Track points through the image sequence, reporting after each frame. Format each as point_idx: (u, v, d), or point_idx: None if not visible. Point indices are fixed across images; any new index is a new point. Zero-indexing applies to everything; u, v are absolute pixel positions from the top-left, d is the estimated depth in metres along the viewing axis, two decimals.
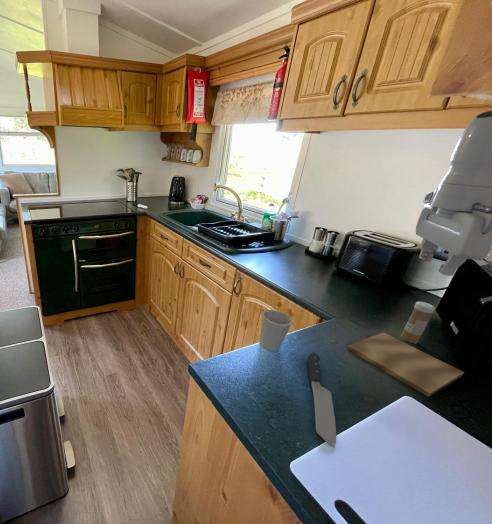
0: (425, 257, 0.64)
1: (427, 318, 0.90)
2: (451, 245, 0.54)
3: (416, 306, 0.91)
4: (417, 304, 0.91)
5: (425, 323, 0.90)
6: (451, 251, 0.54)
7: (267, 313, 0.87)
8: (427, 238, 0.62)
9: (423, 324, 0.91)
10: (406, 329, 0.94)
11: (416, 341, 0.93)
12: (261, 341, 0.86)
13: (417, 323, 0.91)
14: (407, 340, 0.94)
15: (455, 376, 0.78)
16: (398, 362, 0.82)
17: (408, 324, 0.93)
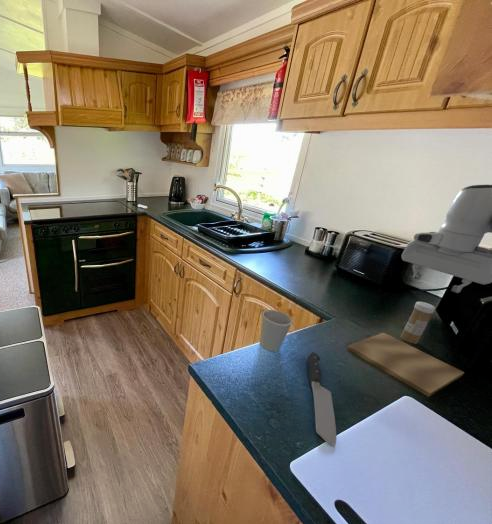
0: (419, 277, 0.91)
1: (427, 318, 0.90)
2: (470, 275, 0.80)
3: (416, 306, 0.91)
4: (417, 304, 0.91)
5: (425, 323, 0.90)
6: (472, 280, 0.79)
7: (267, 313, 0.87)
8: (427, 266, 0.88)
9: (423, 324, 0.91)
10: (406, 329, 0.94)
11: (416, 341, 0.93)
12: (261, 341, 0.86)
13: (417, 323, 0.91)
14: (407, 340, 0.94)
15: (455, 376, 0.78)
16: (398, 362, 0.82)
17: (408, 324, 0.93)
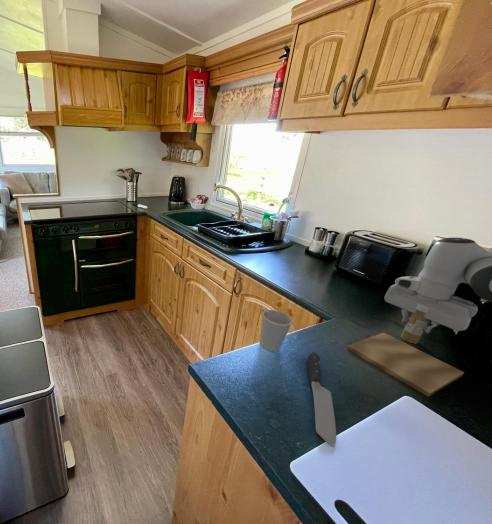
0: None
1: None
2: (446, 322, 0.85)
3: (416, 306, 0.91)
4: None
5: (425, 323, 0.90)
6: (448, 326, 0.85)
7: (267, 313, 0.87)
8: (407, 309, 0.93)
9: (423, 324, 0.90)
10: (406, 329, 0.94)
11: (416, 341, 0.93)
12: (261, 341, 0.86)
13: (418, 323, 0.91)
14: (407, 340, 0.94)
15: (455, 376, 0.78)
16: (398, 362, 0.82)
17: (408, 324, 0.93)
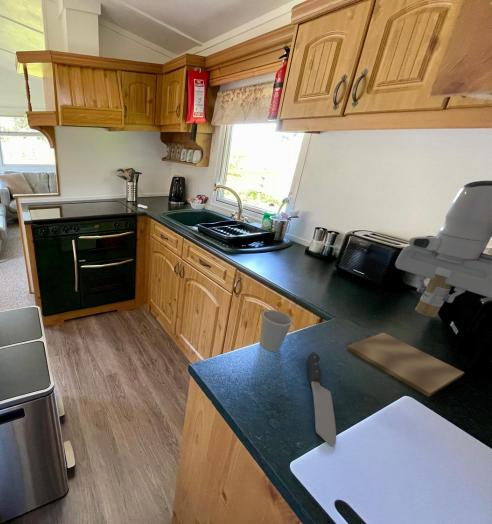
0: (424, 290, 0.78)
1: None
2: (474, 287, 0.69)
3: (436, 270, 0.74)
4: (437, 268, 0.74)
5: (447, 291, 0.74)
6: (477, 292, 0.68)
7: (267, 313, 0.87)
8: (424, 275, 0.77)
9: (444, 292, 0.74)
10: (423, 299, 0.77)
11: (435, 314, 0.76)
12: (261, 341, 0.86)
13: (437, 291, 0.74)
14: (424, 313, 0.77)
15: (455, 376, 0.78)
16: (398, 362, 0.82)
17: (425, 293, 0.77)
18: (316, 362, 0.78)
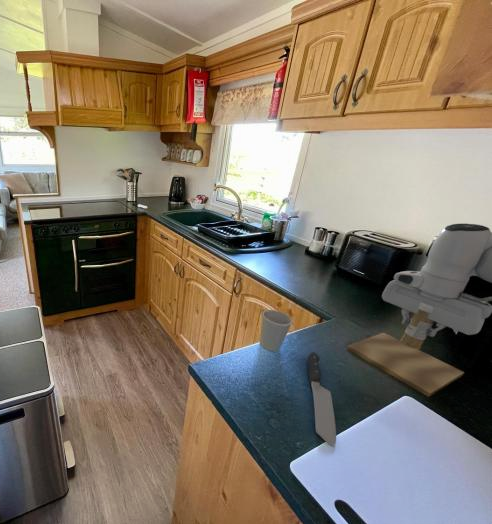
0: None
1: None
2: (454, 324, 0.72)
3: (419, 305, 0.78)
4: (420, 303, 0.78)
5: (429, 325, 0.77)
6: (457, 329, 0.72)
7: (267, 313, 0.87)
8: (408, 309, 0.80)
9: (427, 326, 0.77)
10: (407, 332, 0.81)
11: (419, 346, 0.80)
12: (261, 341, 0.86)
13: (420, 326, 0.78)
14: (408, 345, 0.81)
15: (455, 376, 0.78)
16: (398, 362, 0.82)
17: (409, 326, 0.80)
18: (316, 362, 0.78)
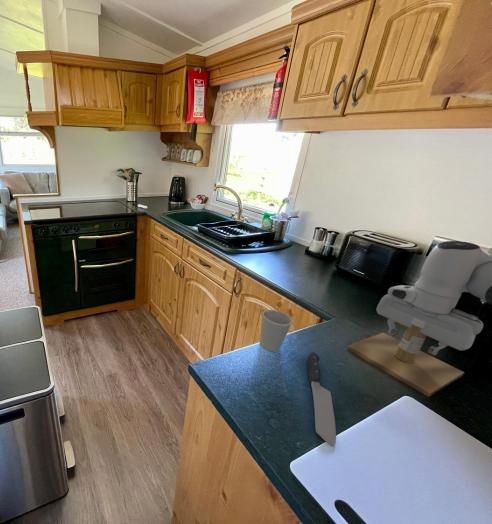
0: (394, 333, 0.85)
1: None
2: (446, 339, 0.74)
3: (412, 320, 0.80)
4: (413, 318, 0.80)
5: (422, 340, 0.79)
6: (449, 344, 0.73)
7: (267, 313, 0.87)
8: (402, 323, 0.82)
9: (419, 341, 0.79)
10: (400, 346, 0.83)
11: (412, 360, 0.82)
12: (261, 341, 0.86)
13: (413, 340, 0.80)
14: (402, 359, 0.82)
15: (455, 376, 0.78)
16: (398, 362, 0.82)
17: (403, 340, 0.82)
18: (316, 362, 0.78)
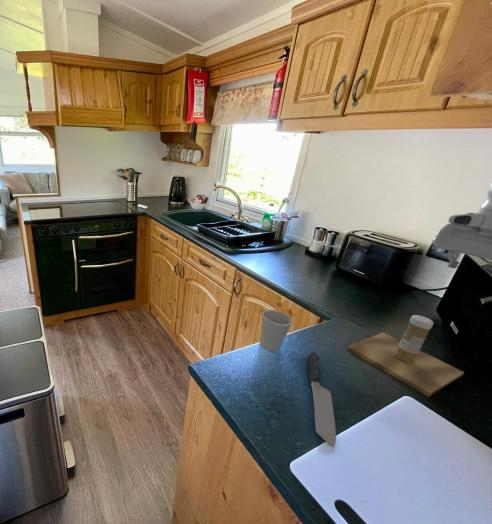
0: (456, 265, 0.80)
1: (424, 334, 0.78)
2: None
3: (412, 320, 0.80)
4: (413, 318, 0.80)
5: (422, 340, 0.79)
6: None
7: (267, 313, 0.87)
8: (466, 252, 0.77)
9: (420, 341, 0.79)
10: (400, 346, 0.83)
11: (412, 360, 0.82)
12: (261, 341, 0.86)
13: (413, 340, 0.80)
14: (402, 359, 0.82)
15: (455, 376, 0.78)
16: (398, 362, 0.82)
17: (403, 340, 0.82)
18: (316, 362, 0.78)
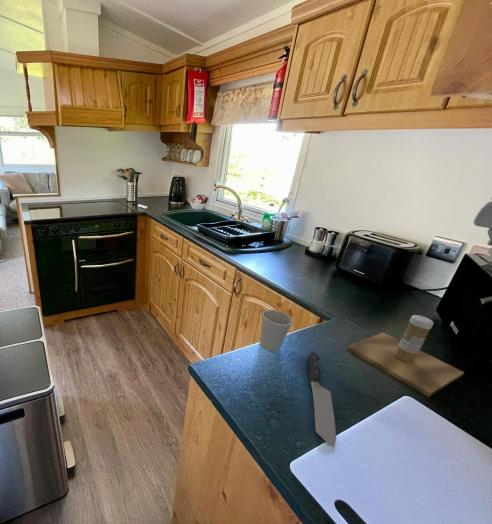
0: None
1: (424, 334, 0.78)
2: None
3: (412, 320, 0.80)
4: (413, 318, 0.80)
5: (422, 340, 0.79)
6: None
7: (267, 313, 0.87)
8: None
9: (420, 341, 0.79)
10: (400, 346, 0.83)
11: (412, 360, 0.82)
12: (261, 341, 0.86)
13: (413, 340, 0.80)
14: (402, 359, 0.82)
15: (455, 376, 0.78)
16: (398, 362, 0.82)
17: (403, 340, 0.82)
18: (316, 362, 0.78)
